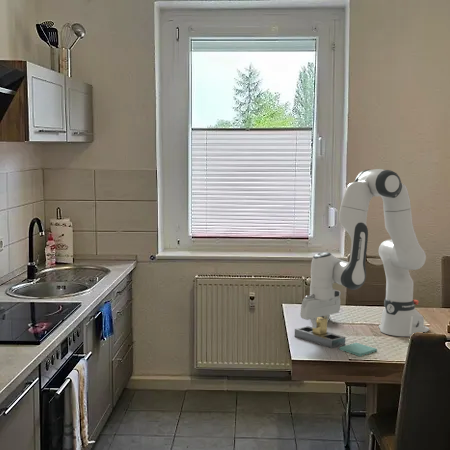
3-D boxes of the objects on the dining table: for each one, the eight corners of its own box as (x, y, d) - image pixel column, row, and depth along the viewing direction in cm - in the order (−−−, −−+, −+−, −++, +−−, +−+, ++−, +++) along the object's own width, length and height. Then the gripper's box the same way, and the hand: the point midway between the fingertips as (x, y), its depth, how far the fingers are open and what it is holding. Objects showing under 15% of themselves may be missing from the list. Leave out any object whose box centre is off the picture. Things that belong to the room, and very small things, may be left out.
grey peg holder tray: (307, 333, 270) (308, 326, 270) (345, 344, 255) (345, 337, 254) (294, 336, 265) (294, 329, 264) (331, 348, 250) (332, 340, 249)
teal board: (356, 345, 254) (356, 342, 254) (376, 351, 247) (376, 348, 247) (339, 349, 248) (339, 347, 248) (360, 356, 240) (360, 353, 240)
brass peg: (318, 338, 263) (319, 316, 261) (326, 340, 260) (327, 318, 258) (312, 340, 260) (313, 318, 259) (319, 342, 257) (320, 320, 256)
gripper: (309, 298, 248) (308, 332, 250) (343, 291, 262) (342, 324, 263) (297, 295, 253) (296, 329, 255) (331, 288, 266) (330, 321, 268)
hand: (319, 326), depth 259 cm, fingers closed on brass peg, 4 cm apart
